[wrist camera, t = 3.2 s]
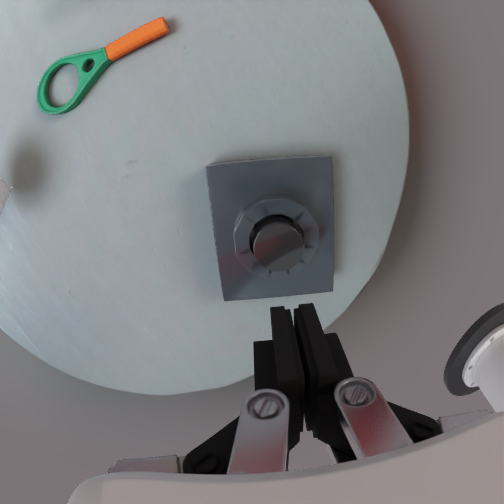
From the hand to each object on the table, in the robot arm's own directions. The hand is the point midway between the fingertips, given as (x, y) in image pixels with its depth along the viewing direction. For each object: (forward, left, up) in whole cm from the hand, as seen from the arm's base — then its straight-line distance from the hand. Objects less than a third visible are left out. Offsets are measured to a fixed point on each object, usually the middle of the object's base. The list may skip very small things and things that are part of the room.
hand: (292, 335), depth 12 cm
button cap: (0, 0, -12) cm, 12 cm away
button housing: (0, 0, -17) cm, 17 cm away
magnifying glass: (+15, -18, -17) cm, 29 cm away
